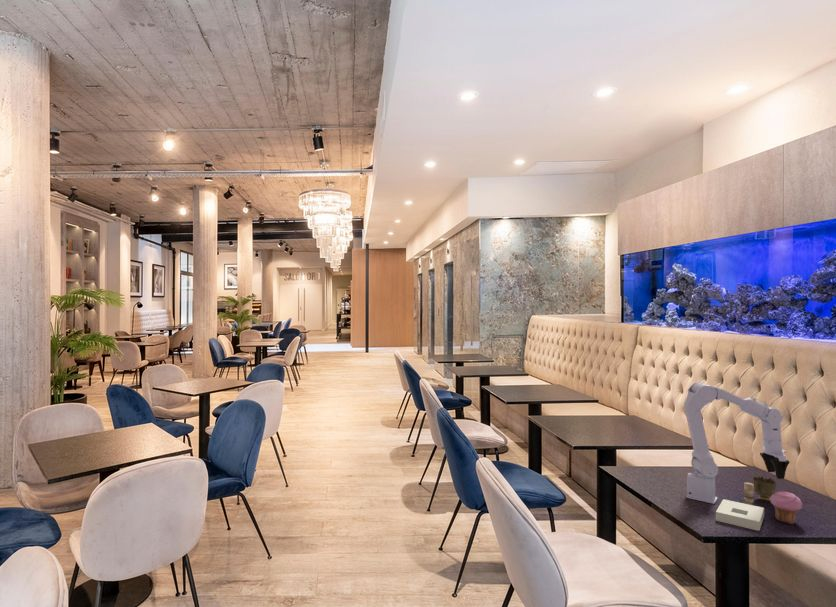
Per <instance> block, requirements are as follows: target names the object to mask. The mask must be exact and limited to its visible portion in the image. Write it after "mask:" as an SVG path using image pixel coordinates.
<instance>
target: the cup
mask: <svg viewBox="0 0 836 607" xmlns="http://www.w3.org/2000/svg"><path fill="white" fill-rule="evenodd" d="M752 480H753V484H754V491H755V492H754V493H756V494H757V495H758V498H759V500H760V501H764V502H769V501H770V502H771V496H772V495H773V494H775V493H776V489H777V488H776V486H777V480H775V481H774V479H772V478H771V477H769V478H767V476H766V477H765V478H764V477H763V476H759V475H758V476H753V477H752Z"/></svg>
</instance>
